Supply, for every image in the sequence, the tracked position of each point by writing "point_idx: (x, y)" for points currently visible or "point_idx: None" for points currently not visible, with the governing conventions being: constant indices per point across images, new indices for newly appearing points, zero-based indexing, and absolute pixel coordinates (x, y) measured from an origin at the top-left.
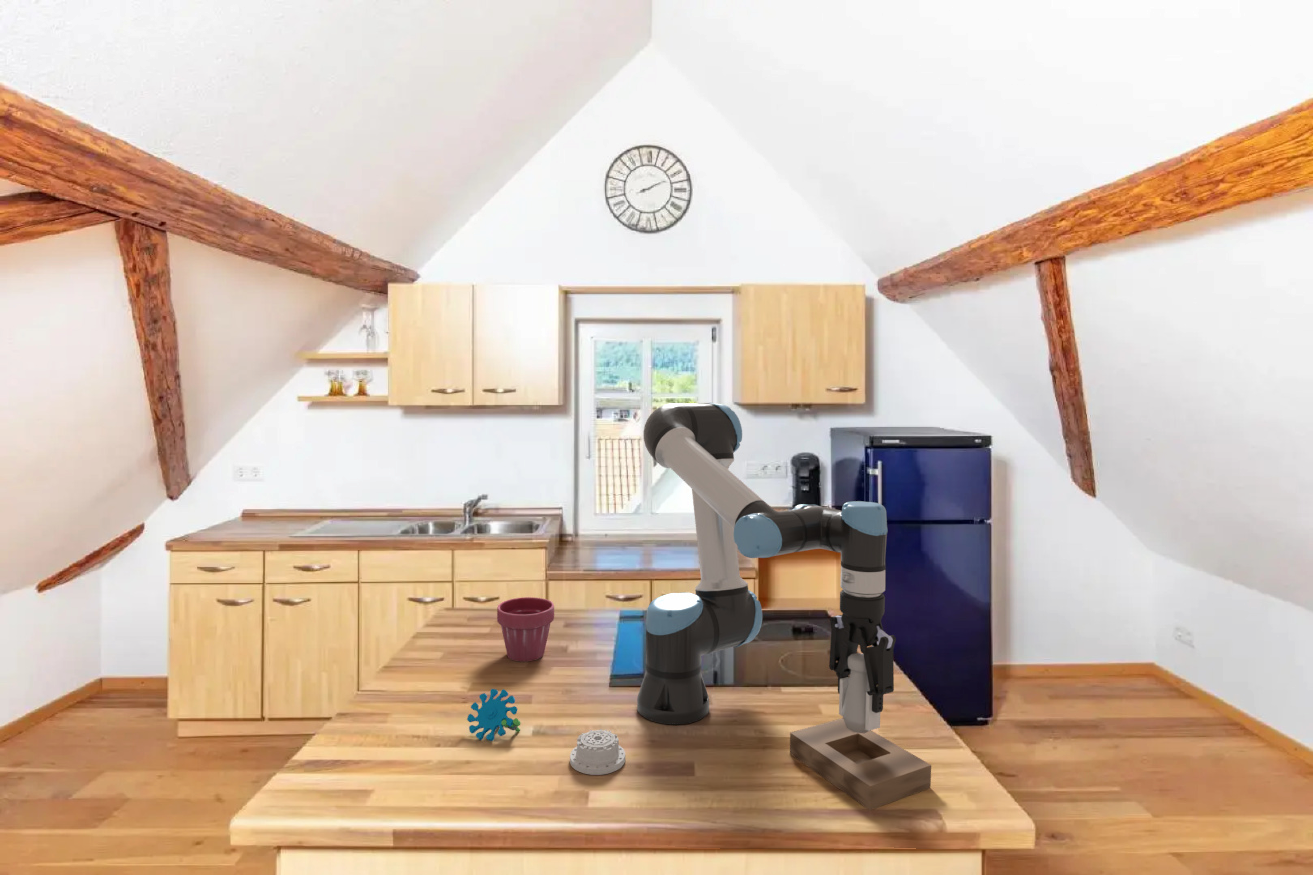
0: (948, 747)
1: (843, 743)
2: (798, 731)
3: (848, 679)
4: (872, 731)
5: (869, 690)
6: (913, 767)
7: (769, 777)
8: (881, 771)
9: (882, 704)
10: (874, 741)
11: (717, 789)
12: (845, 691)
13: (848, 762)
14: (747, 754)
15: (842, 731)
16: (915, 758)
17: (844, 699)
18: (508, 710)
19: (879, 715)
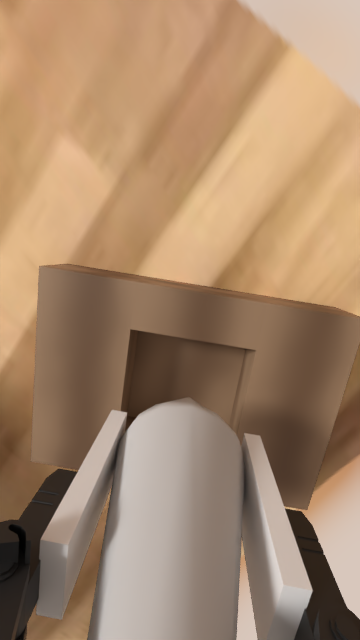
0: (270, 64)
1: (128, 374)
2: (36, 443)
3: (65, 579)
4: (147, 285)
5: (238, 591)
6: (338, 369)
7: (102, 516)
8: (290, 443)
9: (321, 552)
10: (188, 331)
11: (82, 595)
12: (91, 529)
13: None
14: (16, 490)
15: (98, 355)
16: (317, 322)
17: (103, 499)
18: None
19: (269, 471)
